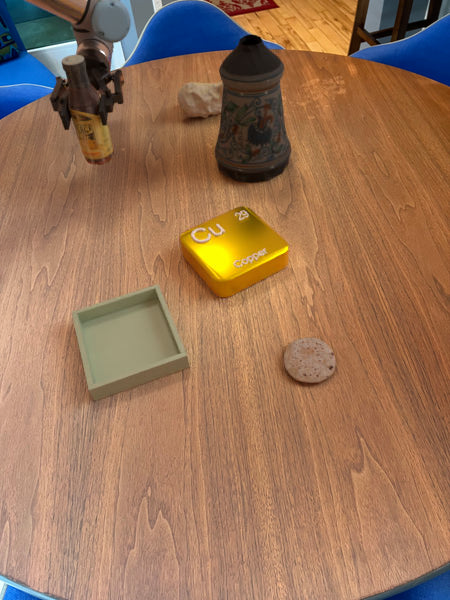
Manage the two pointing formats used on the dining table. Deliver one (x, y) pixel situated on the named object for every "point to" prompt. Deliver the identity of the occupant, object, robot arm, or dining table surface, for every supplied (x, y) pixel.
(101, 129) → the sauce bottle
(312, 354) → the flatbread
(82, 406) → the dining table surface
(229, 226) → the element tile
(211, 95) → the beige rock
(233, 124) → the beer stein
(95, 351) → the serving tray
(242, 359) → the dining table surface
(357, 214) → the dining table surface
